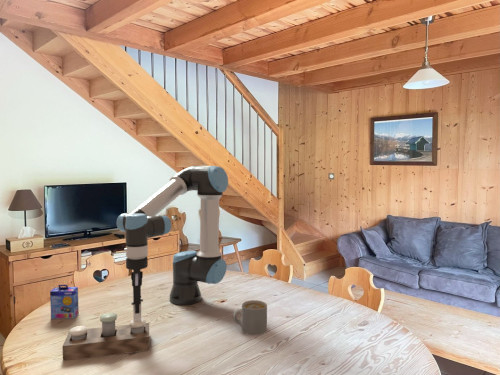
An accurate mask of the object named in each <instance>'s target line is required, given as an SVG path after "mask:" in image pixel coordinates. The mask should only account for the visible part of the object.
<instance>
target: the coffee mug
mask: <svg viewBox="0 0 500 375" xmlns="http://www.w3.org/2000/svg"><path fill="white" fill-rule="evenodd" d="M238 314H241V318H240V319H237V315H238ZM232 319H233V322H234V323H235V324H237V325H239V326H241V330H242V332H243V333H244V334H247V335H250V336H251V335H252V336H257V335H262V334H265V333H266V332H267V330H268V304H267V303H266V302H265V301H262V300H255V299H254V300H253V299H251V300H247V301H246V300H245V301H244V302H243V303H242V304H241V308H237V309H235V310H234V311H233V315H232Z"/></svg>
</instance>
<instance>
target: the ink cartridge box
mask: <svg viewBox="0 0 500 375" xmlns="http://www.w3.org/2000/svg"><path fill="white" fill-rule="evenodd" d="M49 294H50V295H49V296H50V298H49V299H50V320H57V319H58V320H61V319H63V320H66V319H72V320H73V319H75V318H76V317H77V316H78V315H79V314H80V313H79V312H80V308H79V287H78V286H68V285H67V284H58V286H57V287H54V288H52V289H51V290H50V291H49Z"/></svg>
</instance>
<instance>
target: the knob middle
mask: <svg viewBox="0 0 500 375" xmlns="http://www.w3.org/2000/svg"><path fill="white" fill-rule="evenodd" d="M117 319H118V315H117V313H116V312H107V313H104V314H101V315H100V316H99V320H100V322H101V327H102V337H111V336H114V335H115V326H116V320H117Z"/></svg>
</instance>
